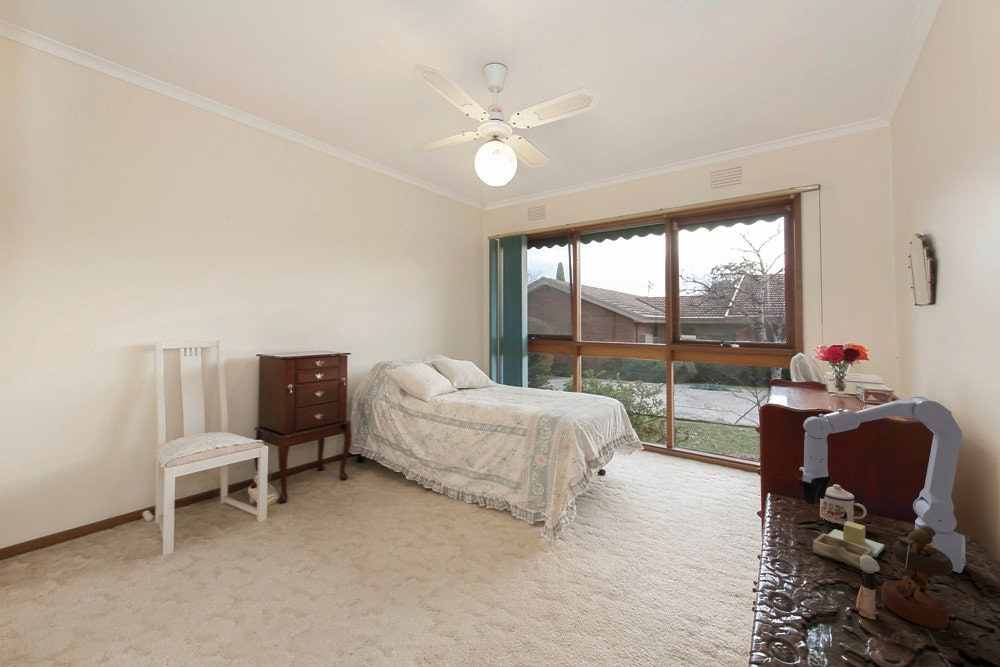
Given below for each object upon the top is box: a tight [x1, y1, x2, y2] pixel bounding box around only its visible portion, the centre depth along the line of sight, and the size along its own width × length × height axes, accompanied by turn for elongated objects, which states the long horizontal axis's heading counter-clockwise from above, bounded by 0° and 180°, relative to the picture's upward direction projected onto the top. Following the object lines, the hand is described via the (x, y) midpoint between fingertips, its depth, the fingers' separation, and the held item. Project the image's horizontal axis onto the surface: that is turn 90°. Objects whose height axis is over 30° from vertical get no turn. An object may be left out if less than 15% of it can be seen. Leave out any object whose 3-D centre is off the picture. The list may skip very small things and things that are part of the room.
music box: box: [880, 526, 953, 630], centre depth 92 cm, size 15×11×20 cm
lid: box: [827, 521, 885, 558], centre depth 121 cm, size 11×8×6 cm
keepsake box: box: [812, 532, 873, 571], centre depth 114 cm, size 11×8×3 cm
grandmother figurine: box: [855, 555, 881, 620], centre depth 91 cm, size 8×4×13 cm, turn 141°
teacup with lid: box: [819, 484, 867, 525], centre depth 136 cm, size 12×9×12 cm
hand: (815, 500), depth 127 cm, fingers open, 7 cm apart
